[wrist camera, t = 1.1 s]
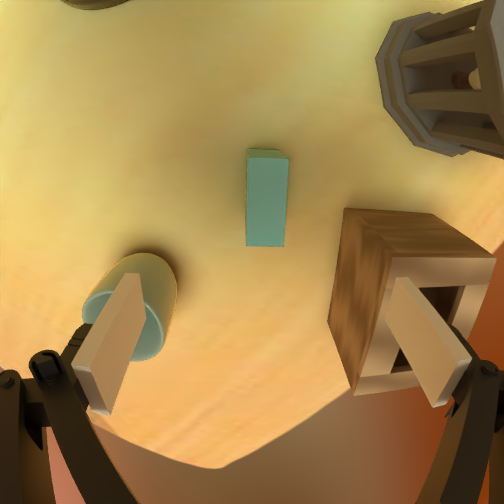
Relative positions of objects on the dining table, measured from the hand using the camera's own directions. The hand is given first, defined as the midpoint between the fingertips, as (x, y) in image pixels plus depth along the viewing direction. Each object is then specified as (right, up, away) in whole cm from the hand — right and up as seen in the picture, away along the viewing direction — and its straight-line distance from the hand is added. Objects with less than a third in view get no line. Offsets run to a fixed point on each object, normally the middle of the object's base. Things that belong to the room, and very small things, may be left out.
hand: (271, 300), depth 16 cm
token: (0, +9, +15) cm, 17 cm away
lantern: (+19, +21, +11) cm, 30 cm away
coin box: (+14, 0, +19) cm, 23 cm away
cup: (-12, 0, +19) cm, 22 cm away
